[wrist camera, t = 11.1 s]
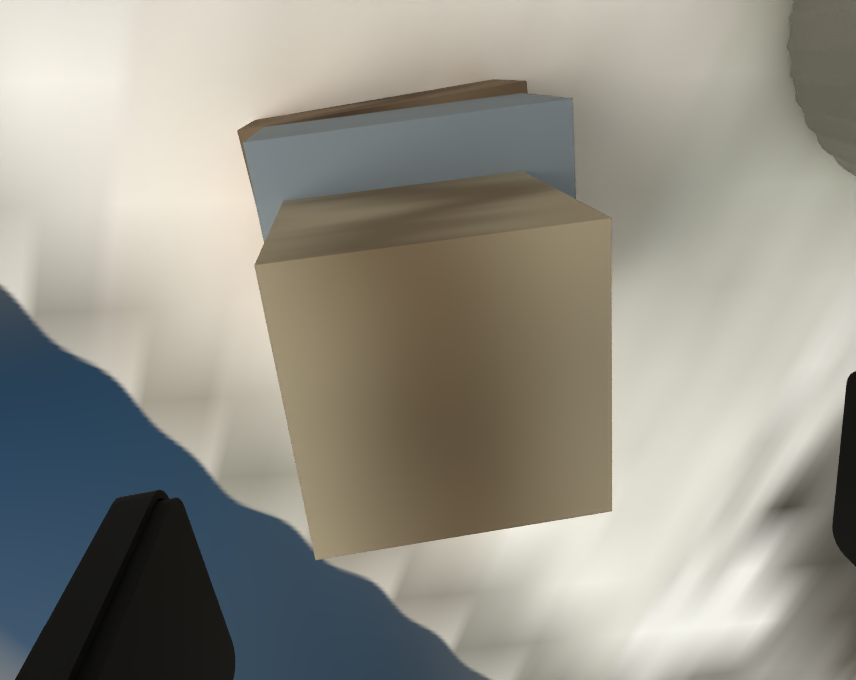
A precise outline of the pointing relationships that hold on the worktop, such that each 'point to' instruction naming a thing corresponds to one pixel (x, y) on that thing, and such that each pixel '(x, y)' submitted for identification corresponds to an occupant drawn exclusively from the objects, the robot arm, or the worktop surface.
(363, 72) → the worktop surface
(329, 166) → the tower top
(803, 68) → the canister
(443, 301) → the oak cube
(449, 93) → the tower base
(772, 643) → the worktop surface
